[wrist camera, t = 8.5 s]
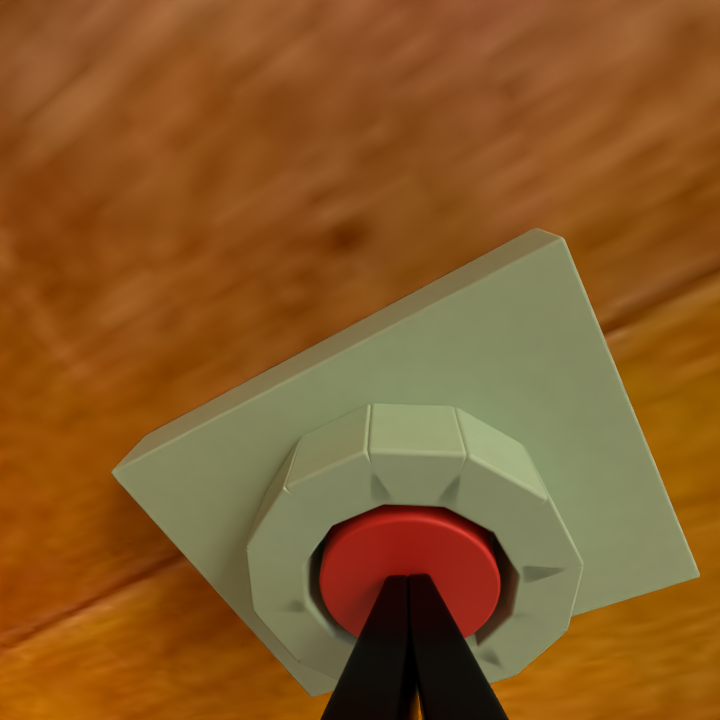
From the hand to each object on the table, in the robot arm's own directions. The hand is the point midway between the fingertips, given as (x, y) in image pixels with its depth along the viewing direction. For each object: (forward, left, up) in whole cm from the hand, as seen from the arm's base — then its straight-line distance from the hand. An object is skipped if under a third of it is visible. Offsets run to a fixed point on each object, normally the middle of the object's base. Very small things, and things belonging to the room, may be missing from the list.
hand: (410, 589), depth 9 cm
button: (0, 0, -2) cm, 2 cm away
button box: (0, 0, -4) cm, 4 cm away
